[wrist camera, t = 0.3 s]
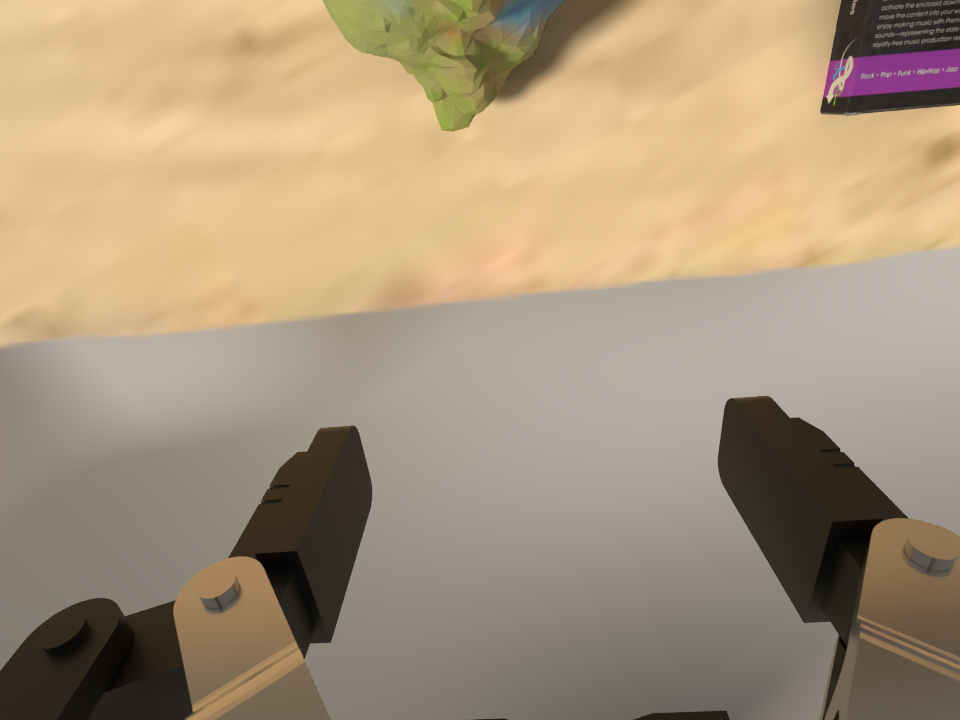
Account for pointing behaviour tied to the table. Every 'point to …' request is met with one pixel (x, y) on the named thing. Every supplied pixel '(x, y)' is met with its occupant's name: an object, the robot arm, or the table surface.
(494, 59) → the decorative rock
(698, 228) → the table surface
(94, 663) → the robot arm
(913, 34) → the box
